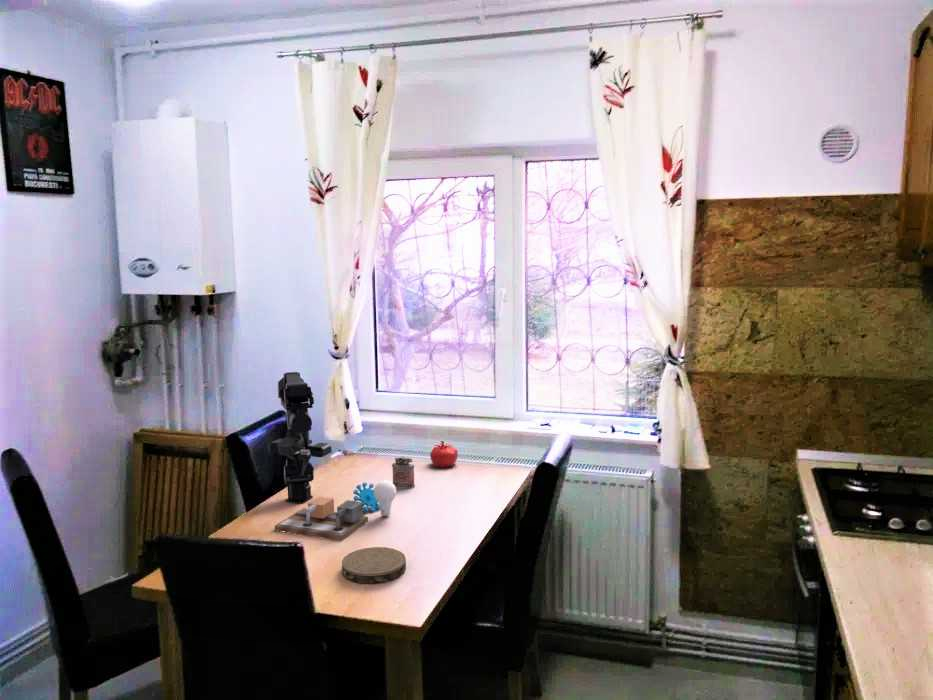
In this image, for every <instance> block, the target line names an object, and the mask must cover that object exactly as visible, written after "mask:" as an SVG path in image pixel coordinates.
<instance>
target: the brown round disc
mask: <svg viewBox="0 0 933 700" xmlns="http://www.w3.org/2000/svg"><path fill="white" fill-rule="evenodd" d="M406 560H407V559H406V555H405V554H404V553H403V552H402V551H401V550H398V549H394V548H391V547H384V546H382V547H381V546H379V547H378V546H373V547H366V548H361V549H356V550H354V551H351V552H349V553H348V554H347V555H345V556H344V557H343V559H342V561H341V572H342V577H343V578H345V580H346V581H349V582H350V583H353V584H354V583H355V584H359V585H372V586H375V585H381V584H385V583H389V582H390V583H391V582H393V581H395V580H396V579H400V578H401V577H402V576H403V575H404V574H405V572H406V570H407V563H406V562H407V561H406Z"/></svg>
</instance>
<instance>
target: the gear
mask: <svg viewBox="0 0 933 700" xmlns="http://www.w3.org/2000/svg"><path fill="white" fill-rule="evenodd" d="M367 485H368V483H367V482H363V483H362V484H357V485H356V486H355V488H356V489H355V490H353V492H352V493H353V495H354V496H353V501H358V502H363V512H368V510H369V507H371V508H370V512H371V513H375V511H376V510H377V511H379V510H381V509H380V505H379V502H378V501H377V499H376V498H375V496H374V489H373V488H375V486H374V484H373V483H370V484H369V485H368V488H366V487H367ZM375 506H376V507H375Z"/></svg>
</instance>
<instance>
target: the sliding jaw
mask: <svg viewBox="0 0 933 700" xmlns="http://www.w3.org/2000/svg"><path fill="white" fill-rule="evenodd" d="M306 508H307V509H306V518H307V525H309V524H310V517H316V518H325V517H326V516H328V515H329V514H331V513H332V512H335V500H334V498H333V497H324V496H317V497H316V498H314V499H313V500H311V501H310V502H308V503H307V507H306Z"/></svg>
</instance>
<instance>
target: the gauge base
mask: <svg viewBox="0 0 933 700" xmlns="http://www.w3.org/2000/svg"><path fill="white" fill-rule="evenodd" d="M307 508H308V507H306V508H305V507H303V508H301V509H300V510H297V511H296V512H295V513H293V514H292V515H290V516H289V517H287V518H286V519H284V520H282V521H280V522H278V523H276V525H274V531H275V530H278V531H277V532H280V531H285V532H284V533H287V532H290V533H289V534H293V533H296V534H295V535H300V534H301V536H306V537H307V536H308V537H313V536H315V537H314V538H320V537H322V538H321V539H329V540H334V541H340V540H341V542H343V541H344V540H345V539H347V538H348V537H350V536H351V535H353V534H354V533H355V532H356V531H357V530H359V529H360V528H361V527H363V526H364V525H366V524H367V523H368V522H369V517H368V516H366V515H365V516H364V510H363V508H364V506H363V502H361V501H354V500H349V499H347V500H345V501H344V502H342V503H341V504H339V505H337V507H336V512H335V511H334V512H332V513H331V514H329V515H328V516H326V517H325V518H316V517H310V524H309V525H307V518H306V509H307ZM366 522H367V523H366ZM365 523H366V524H365ZM362 525H363V526H362ZM358 528H359V529H358ZM350 534H351V535H350Z"/></svg>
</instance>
